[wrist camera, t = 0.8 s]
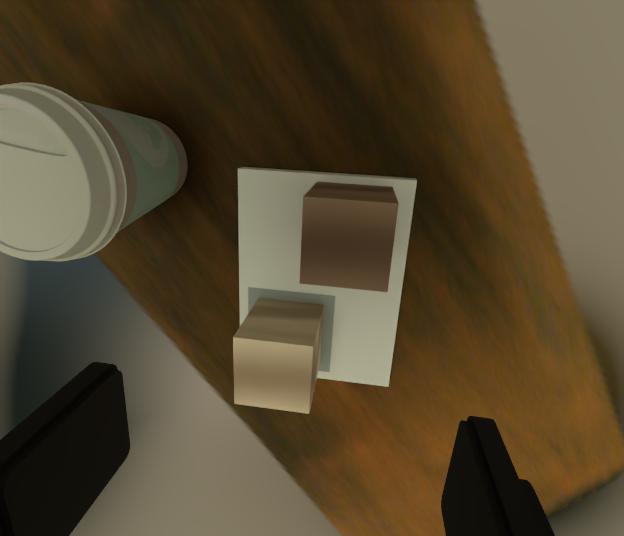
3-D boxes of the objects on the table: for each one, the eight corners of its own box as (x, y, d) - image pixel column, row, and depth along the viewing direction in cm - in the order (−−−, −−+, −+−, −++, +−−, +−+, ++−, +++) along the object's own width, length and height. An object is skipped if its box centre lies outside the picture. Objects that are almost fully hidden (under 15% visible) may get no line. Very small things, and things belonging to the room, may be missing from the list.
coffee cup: (229, 160, 28) (138, 184, 17) (161, 240, 31) (44, 304, 20) (137, 68, 27) (-27, 29, 16) (74, 160, 30) (-102, 181, 19)
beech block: (258, 298, 30) (233, 337, 25) (323, 304, 30) (313, 346, 24) (258, 354, 32) (234, 403, 26) (320, 362, 31) (309, 413, 26)
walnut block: (317, 181, 27) (303, 196, 21) (392, 186, 26) (398, 203, 21) (313, 252, 29) (299, 283, 23) (384, 258, 28) (387, 292, 22)
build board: (242, 166, 28) (237, 168, 27) (415, 178, 27) (417, 180, 26) (244, 360, 34) (240, 368, 33) (387, 377, 33) (388, 387, 31)
